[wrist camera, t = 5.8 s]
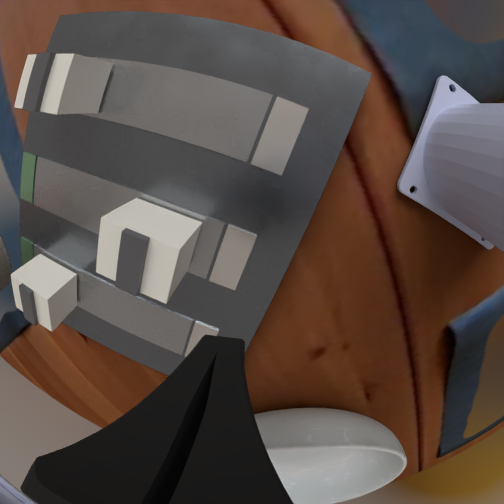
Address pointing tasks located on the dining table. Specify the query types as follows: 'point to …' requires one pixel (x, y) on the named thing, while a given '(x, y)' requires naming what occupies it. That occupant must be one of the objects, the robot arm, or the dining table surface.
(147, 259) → the block
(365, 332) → the dining table surface
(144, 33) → the panel
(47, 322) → the block
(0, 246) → the thermos bottle
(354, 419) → the serving bowl
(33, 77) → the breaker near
